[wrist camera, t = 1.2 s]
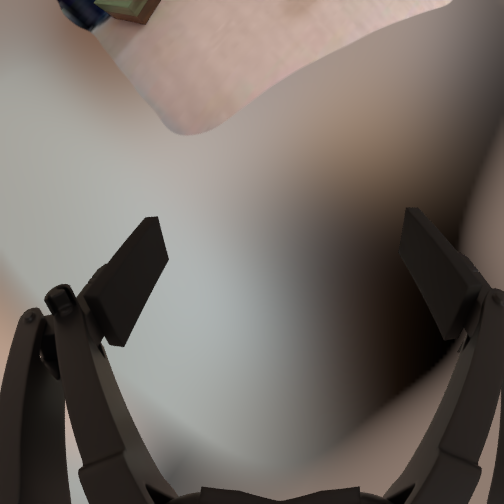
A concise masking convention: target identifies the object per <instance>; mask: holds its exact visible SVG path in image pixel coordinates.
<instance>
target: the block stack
mask: <svg viewBox="0 0 504 504" xmlns="http://www.w3.org/2000/svg"><path fill="white" fill-rule="evenodd" d="M160 1H161V0H96V1H95V2H94V4H96V5H97V6H99V7H100V8H101V9H103V10H104V11H106V12H107V13H108V14H110V15H111V16H112V17H114V18H116V19H121V20H126V21H131V22H136V23H140V24H146V23H147V21H148V20H149V18H150V16H151V15H152V13H153V11H154V10H155V8H156V7H157V5H158V4H159V2H160Z"/></svg>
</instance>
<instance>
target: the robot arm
mask: <svg viewBox="0 0 504 504" xmlns="http://www.w3.org/2000/svg"><path fill="white" fill-rule="evenodd" d="M398 253H399V254H400V256H401V258H402V259H403V261H404V263H405V265H406V266H407V268H408V270H409V272H410V273H411V275H412V277H413V279H414V281H415V282H416V284H417V286H418V288H419V290H420V292H421V294H422V296H423V298H424V299H425V301H426V303H427V305H428V307H429V309H430V311H431V313H432V315H433V317H434V319H435V321H436V323H437V326H438V328H439V330H440V332H441V334H442V336H443V339H444V340H449V339H454V338H458V337H459V336H460V334H461V332H462V330H463V328H465V330H466V332H467V335H466V337H465V339H464V341H463V343H462V344H461V346H460V348H459V350H458V352H460V354H459V357H458V360H457V363H456V366H455V368H454V371H453V373H452V376H451V379H450V381H449V384H448V386H447V389H446V391H445V394H444V396H443V398H442V401H441V403H440V405H439V407H438V409H437V411H436V413H435V415H434V418H433V420H432V422H431V424H430V426H429V428H428V430H427V432H426V433H425V435H424V437H423V439H422V441H421V443H420V445H419V447H418V448H417V450H416V452H415V453H414V455H413V457H412V458H411V460H410V462H409V463H408V465H407V467H406V468H405V470H404V471H403V473H402V474H401V475H400V477H399V478H398V479H397V480H396V481H395V482H394V483H393V484H392V486H391V487H390V488H389V489H388V491H387V492H386V493H385V494H384V496H383V497H380V496H377V495H374V494H369V493H363V492H360V487H352V488H345V489H336V490H325V491H319V492H316V493H312V494H309V495H305V496H301V497H297V498H293V499H289V500H285V501H276V500H271V499H267V498H263V497H260V496H256V495H252V494H249V493H245V492H242V491H236V490H224V489H216V488H208V487H201V492H198V493H191V494H187V495H183V496H180V497H178V495H177V494H176V492H175V491H174V489H173V488H172V487H171V486H170V484H169V483H168V482H167V481H166V480H165V479H164V477H163V476H162V475H161V473H160V471H159V470H158V468H157V466H156V465H155V463H154V461H153V459H152V457H151V456H150V454H149V452H148V450H147V448H146V446H145V445H144V442H143V440H142V438H141V436H140V434H139V432H138V430H137V428H136V426H135V424H134V422H133V420H132V417H131V416H130V413H129V411H128V409H127V407H126V404H125V402H124V399H123V397H122V395H121V392H120V390H119V387H118V385H117V382H116V380H115V377H114V375H113V372H112V369H111V366H110V363H109V361H108V358H107V355H106V352H105V349H104V347H103V345H102V344H101V341H102V339H103V337H104V336H105V338H106V340H107V341H108V343H109V345H113V346H121V347H124V346H125V344H126V342H127V340H128V338H129V336H130V334H131V332H132V329H133V328H134V325H135V324H136V322H137V319H138V318H139V316H140V314H141V312H142V309H143V308H144V306H145V304H146V302H147V300H148V298H149V296H150V294H151V292H152V290H153V288H154V286H155V284H156V282H157V281H158V279H159V277H160V275H161V273H162V271H163V269H164V268H165V266H166V264H167V262H168V260H169V258H168V255H167V251H166V247H165V243H164V239H163V235H162V232H161V228H160V223H159V219H158V217H146V218H144V220H143V221H142V222H141V223H140V225H138V227H137V228H136V229H135V230H134V231H133V233H132V234H131V235H130V236H129V237H128V239H127V240H126V241H125V242H124V243H123V245H122V246H121V247H120V248H119V250H118V251H117V252H116V253H115V255H114V256H113V257H112V259H111V260H110V261H109V262H108V263H107V264H105V265H103V266H102V267H101V268H99V269H98V270H97V271H96V273H95V274H94V275H93V276H92V278H91V279H90V280H89V281H88V284H86V286H85V287H84V288H83V289H82V291H81V292H80V293H79V295H78V296H77V298H76V297H75V295H74V293H73V291H72V289H71V287H70V285H68V284H61V285H58V286H56V287H54V288H53V289H51V290H50V291H49V292H48V293H47V294H46V296H45V299H44V301H45V303H46V304H47V306H48V308H49V310H50V312H51V313H52V315H47V316H43V314H42V312H41V310H40V309H39V308H31V309H28V310H27V311H26V312H24V314H23V315H22V316H21V318H20V319H19V322H18V325H17V328H16V332H15V335H14V338H13V341H12V345H11V348H10V352H9V356H8V360H7V364H6V368H5V373H4V377H3V382H2V386H1V392H0V504H71V498H70V490H69V482H68V473H67V462H66V447H65V401H66V405H67V410H68V414H69V418H70V421H71V425H72V429H73V432H74V436H75V439H76V443H77V446H78V449H79V452H80V455H81V458H82V461H83V467H81V468H80V469H79V471H78V475H79V479H80V482H81V485H82V487H83V490H84V493H85V495H86V497H87V500H88V502H89V504H468V502H469V500H470V499H471V496H472V494H473V492H474V490H475V488H476V486H477V484H478V482H479V479H480V476H481V471H482V470H481V469H482V468H481V467H480V466H478V461H479V458H480V455H481V452H482V450H483V447H484V445H485V441H486V439H487V436H488V433H489V430H490V427H491V424H492V420H493V417H494V414H495V410H496V406H497V403H498V399H499V395H500V390H501V415H500V430H499V439H498V448H497V455H496V461H495V468H494V473H493V478H492V483H491V487H490V491H489V495H488V500H487V504H504V291H502V290H500V289H496V288H494V289H492V288H491V287H490V285H489V284H488V283H487V281H486V280H485V279H484V277H483V276H482V275H481V273H480V272H478V269H477V268H476V267H475V266H474V265H473V263H472V262H471V261H470V260H469V258H468V257H466V256H465V255H463V254H462V253H461V252H457V251H456V250H455V249H454V248H453V246H452V245H451V244H450V243H449V241H448V240H447V239H446V238H445V237H444V236H443V234H441V232H440V231H439V230H438V229H437V228H436V227H435V225H434V224H433V223H432V222H431V221H430V220H429V219H428V218H427V217H426V216H425V215H424V213H423V212H421V210H420V209H419V208H406V211H405V218H404V224H403V230H402V235H401V241H400V246H399V252H398ZM40 356H41V358H40Z"/></svg>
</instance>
